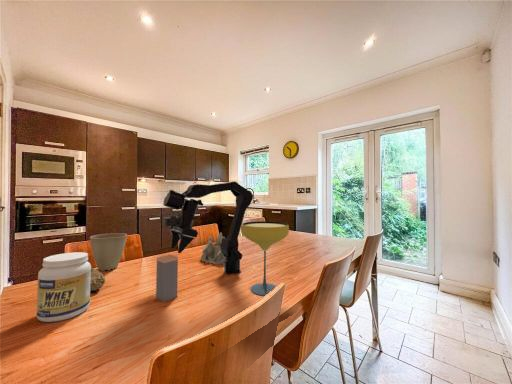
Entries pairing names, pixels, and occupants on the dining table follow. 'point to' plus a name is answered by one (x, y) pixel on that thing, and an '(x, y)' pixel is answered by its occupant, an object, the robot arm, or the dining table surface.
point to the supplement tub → (63, 286)
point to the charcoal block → (166, 277)
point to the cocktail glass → (264, 244)
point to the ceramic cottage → (213, 251)
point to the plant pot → (108, 249)
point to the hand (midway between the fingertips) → (175, 250)
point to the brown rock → (96, 279)
